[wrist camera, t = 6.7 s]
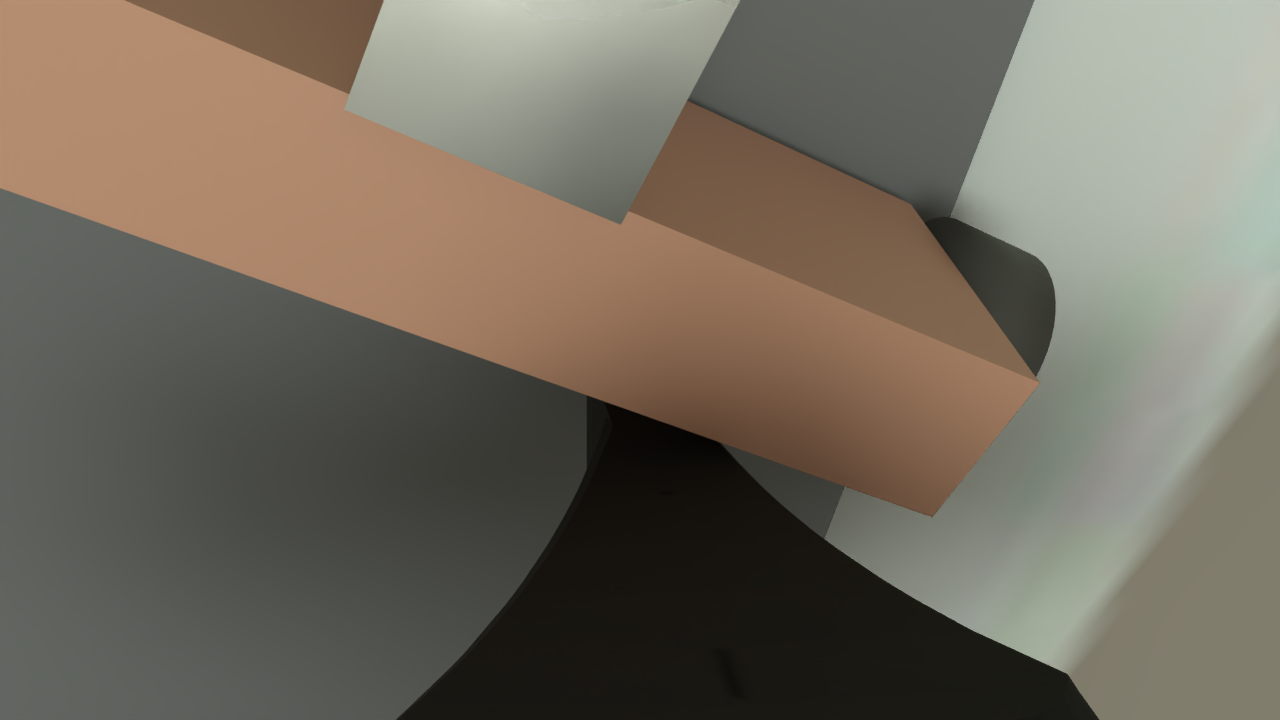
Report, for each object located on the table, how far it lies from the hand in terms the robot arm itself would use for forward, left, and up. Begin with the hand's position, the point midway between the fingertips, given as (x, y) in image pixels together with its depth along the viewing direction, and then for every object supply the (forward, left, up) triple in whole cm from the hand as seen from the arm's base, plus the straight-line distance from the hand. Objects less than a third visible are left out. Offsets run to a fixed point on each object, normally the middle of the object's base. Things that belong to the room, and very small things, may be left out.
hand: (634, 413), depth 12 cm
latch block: (+5, +2, -1) cm, 6 cm away
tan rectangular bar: (+3, +1, -1) cm, 3 cm away
